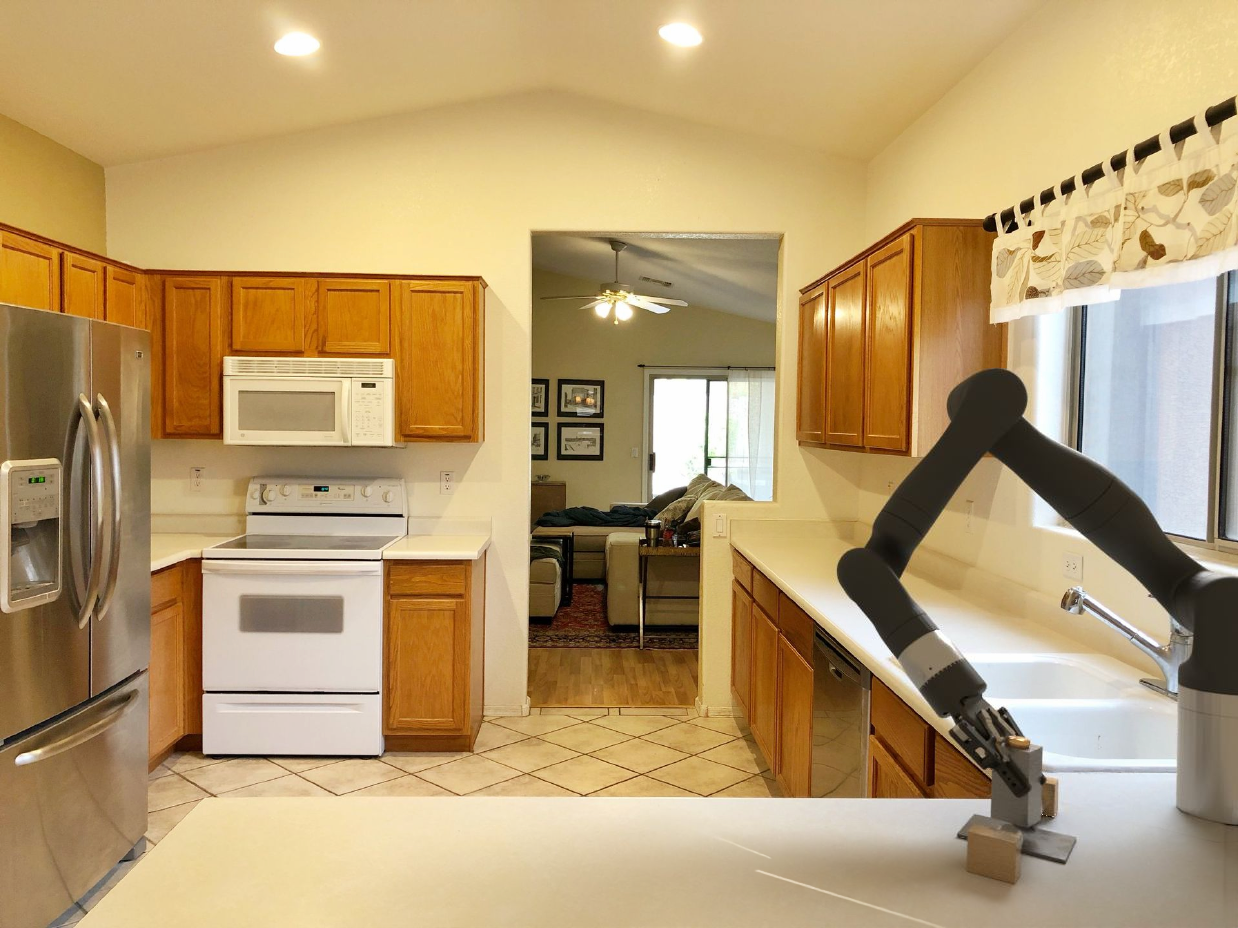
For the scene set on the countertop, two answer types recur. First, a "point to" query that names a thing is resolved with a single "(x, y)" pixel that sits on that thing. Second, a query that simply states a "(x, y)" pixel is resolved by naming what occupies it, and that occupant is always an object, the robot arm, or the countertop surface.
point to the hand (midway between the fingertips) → (1032, 789)
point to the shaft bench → (1014, 841)
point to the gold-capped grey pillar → (1030, 767)
